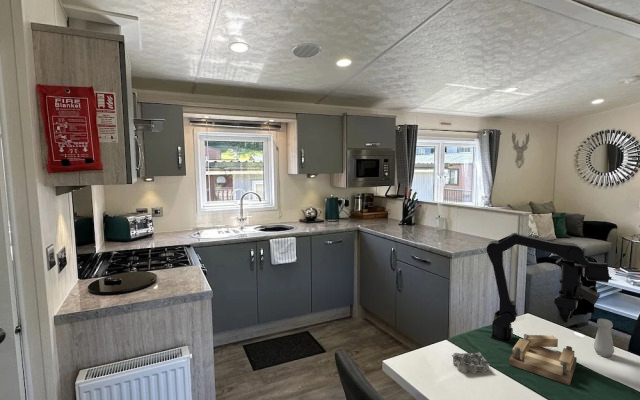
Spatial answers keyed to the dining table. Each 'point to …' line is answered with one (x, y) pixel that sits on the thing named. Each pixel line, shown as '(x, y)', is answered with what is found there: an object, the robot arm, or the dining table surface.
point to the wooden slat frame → (544, 361)
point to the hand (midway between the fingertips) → (567, 318)
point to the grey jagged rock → (471, 358)
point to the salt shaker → (604, 338)
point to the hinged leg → (541, 340)
